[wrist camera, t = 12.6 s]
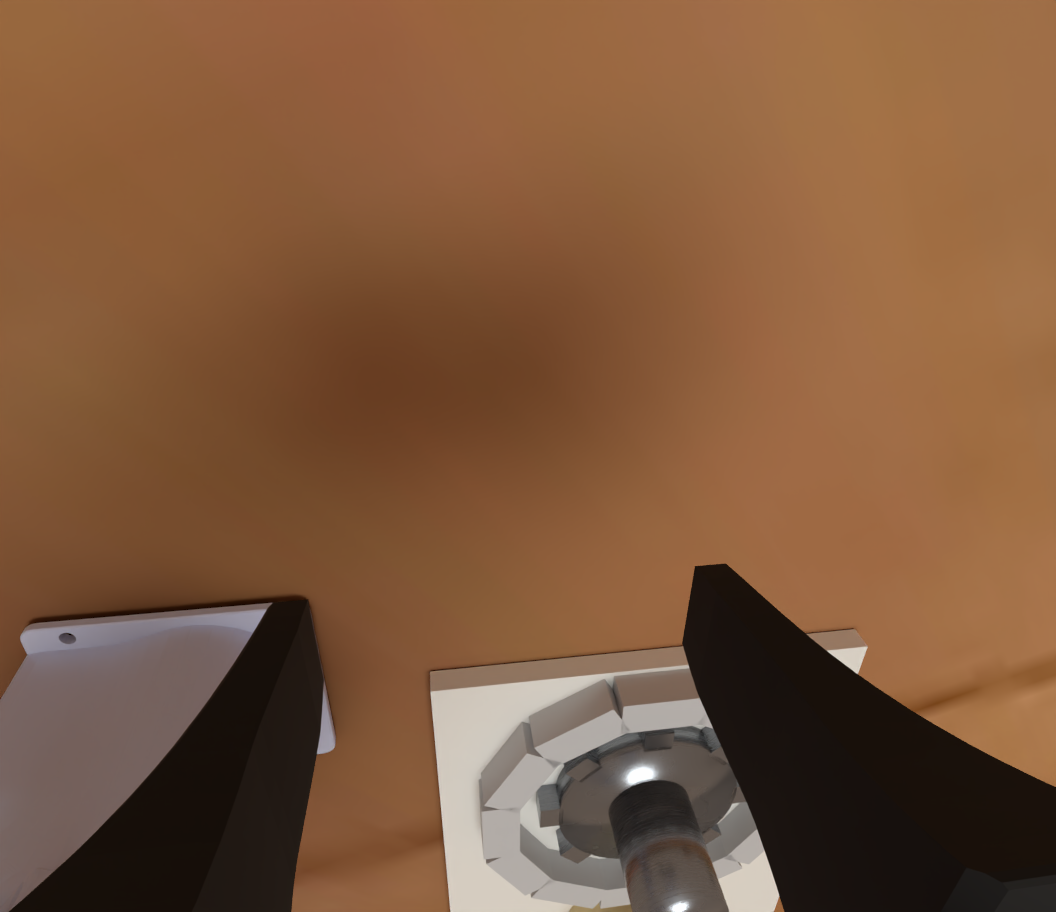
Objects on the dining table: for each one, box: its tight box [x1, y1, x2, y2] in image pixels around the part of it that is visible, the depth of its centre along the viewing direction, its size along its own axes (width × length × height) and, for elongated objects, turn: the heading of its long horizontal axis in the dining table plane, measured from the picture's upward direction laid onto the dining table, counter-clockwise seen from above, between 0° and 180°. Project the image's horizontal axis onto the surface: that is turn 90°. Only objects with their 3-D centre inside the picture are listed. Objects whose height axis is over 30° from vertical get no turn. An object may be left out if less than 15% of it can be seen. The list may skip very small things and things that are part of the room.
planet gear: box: [536, 726, 746, 912], centre depth 30 cm, size 10×10×6 cm
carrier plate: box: [430, 629, 868, 912], centre depth 34 cm, size 18×23×4 cm
